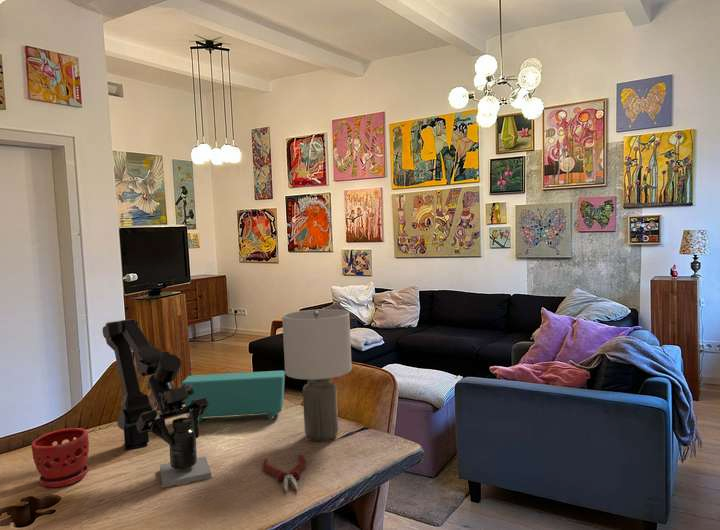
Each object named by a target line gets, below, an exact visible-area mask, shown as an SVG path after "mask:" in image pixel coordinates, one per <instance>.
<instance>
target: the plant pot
mask: <svg viewBox="0 0 720 530" xmlns="http://www.w3.org/2000/svg"><path fill="white" fill-rule="evenodd" d="M74 438H75V439H74ZM66 440H68V442H65V443H63V442H64V441H66ZM55 442H57V444H55V445H53V443H55ZM89 450H90V441H89V433H88V431H87V429H85V428H81V427H70V428H63V429H57V430H54V431H51V432H48V433H45V434H42V435H41V436H40V435H39V437H37V438H35V439H34V440H33V441H32V442H31V452H32V457H33V458H32V459H33V462H34V465H35V468H36V470H37V471H38V473H39V474H40V477H39V482H40V483H41V485H42V486H45V487H50V488H51V487H52V488H57V487H58V488H59V487H63V486H64V485H65V486H69V485H68V484H70V485H72V484H74V483H76V482H78V481H79V480H82V479H83V478H85V476H86V475H87V474H88V473H89V470H90V468H89V465H88V464H87V461H88V458H89V452H90V451H89ZM71 483H72V484H71Z"/></svg>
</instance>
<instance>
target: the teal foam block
mask: <svg viewBox="0 0 720 530" xmlns="http://www.w3.org/2000/svg"><path fill="white" fill-rule="evenodd" d="M285 379H286V374H285V370H268V371H253V372H252V371H251V372H249V371H248V372H231V373H215V374H213V373H212V374H197V375H188V376H187V377H186V378H184V380H183V381H182V382H181V386H182V385H184V384H187V383H191V385H192V387H193V390H194V393H193V394H192V395H190V396H189V398H188V399H185V404H184V407H185V406H189V405H190V403H191V401H192V400H194V399H197V398H201V397H205V398H206V399H207V400H208V402H209V405H208V407H207V409H206V411H205V412H204V414H202V415H200V416H198V425H199V424H200V423H201V421H202V419H203V418H212V417H213V418H215V417H217V418H218V417H229V416H246V415H248V416H249V415H263V414H266V416H267V417H268V418H269V419H270V418H272V417H273V416H274V415H275V414H276V413H277V414H279V413H281V412H282V409H283V405H284V398H285V397H284V394H285ZM277 414H276V415H277ZM276 415H275V416H276ZM186 418H188V415H187V414H186Z"/></svg>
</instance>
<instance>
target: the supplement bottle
mask: <svg viewBox="0 0 720 530" xmlns="http://www.w3.org/2000/svg"><path fill="white" fill-rule="evenodd" d="M171 422H172V425H171V426H172V430H171V431H169V433H170V435H171V437H172V440H173V443H174V444H173V446H170V445H169V444H168V447H169V463H170V465H171V467H172V468H174V469H185V468H189V467H192V466H194V465H195V464H196V462H197V458H198V456H197V455H198V454H197V438H196V431H195V430H194V429H193V428H191V426H192V423H191V418H188V417H179V418H178V417H177V418H174V419H173V420H172V421H171Z"/></svg>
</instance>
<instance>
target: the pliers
mask: <svg viewBox="0 0 720 530" xmlns="http://www.w3.org/2000/svg"><path fill="white" fill-rule="evenodd" d="M298 460H299V461H298V463H296V465H294V467H293V468H292V469H291V470H290V471H289V472H288V473H287V471H283V470H282V469H279V468H278V467H275V466H273V465H271V464H270V463H269V461H268V458H265V459H264V460H263V462H262V468H263V469H262V470H263V471H264V473H265V474H266V475H269V476H271V477H272V478H274V479H276V483H277V484H281V483H283V489H284V492H285V494H287V493H288V490H289V485H291V487H292V488H293V490H294V491H296V492H299V488H298V483H297V481H300V480H301V473H302V472H303V470H304V469H305V468H306V465H307V461H306V457H304V454H301V453H300V454H298Z"/></svg>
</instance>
